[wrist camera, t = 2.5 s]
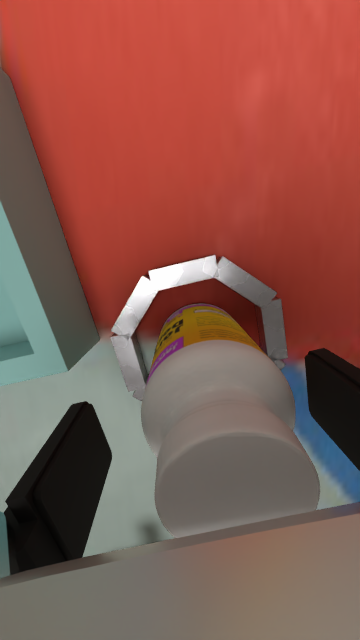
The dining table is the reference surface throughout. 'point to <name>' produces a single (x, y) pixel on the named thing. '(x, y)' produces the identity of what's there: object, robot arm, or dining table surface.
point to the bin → (34, 264)
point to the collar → (184, 274)
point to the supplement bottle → (221, 428)
